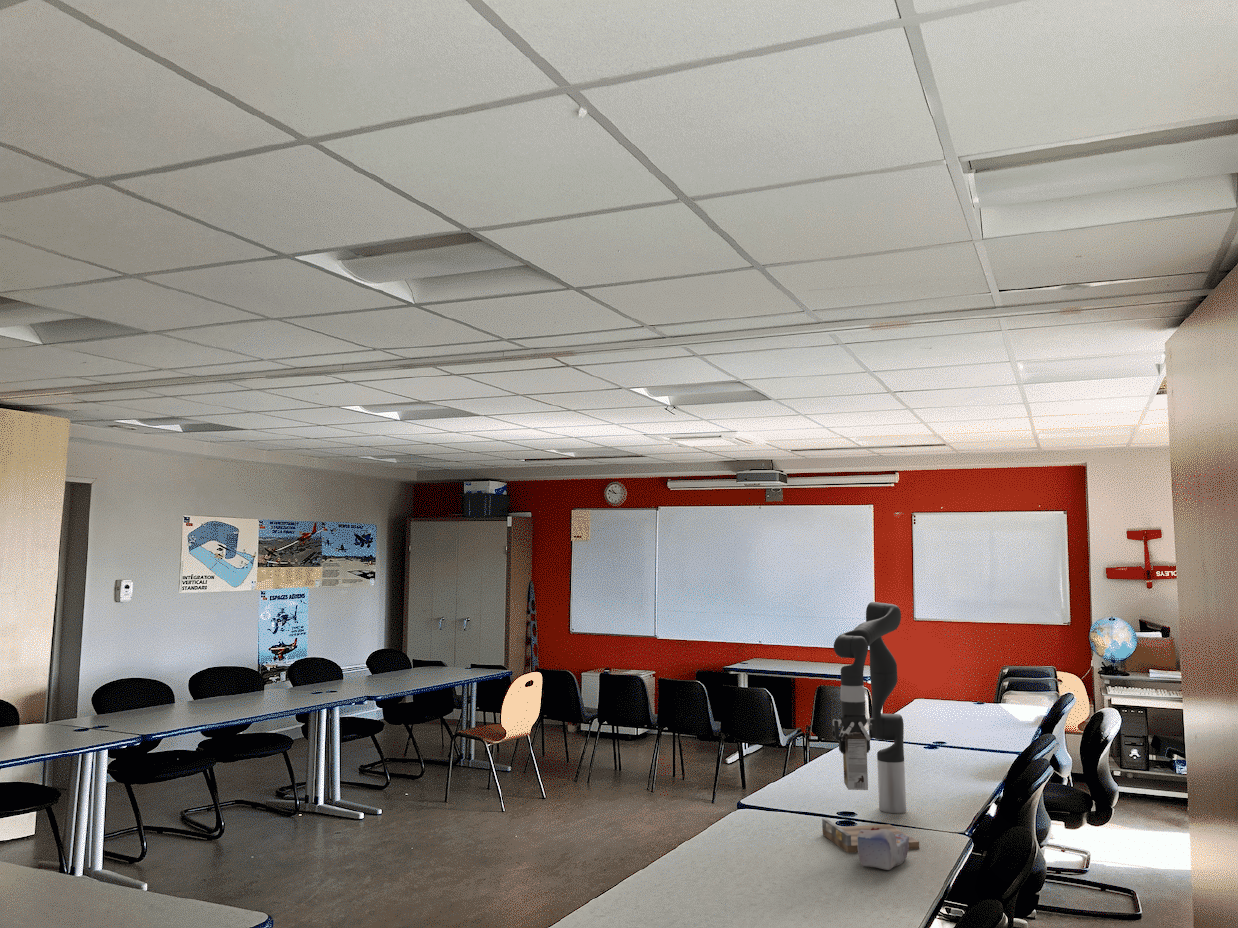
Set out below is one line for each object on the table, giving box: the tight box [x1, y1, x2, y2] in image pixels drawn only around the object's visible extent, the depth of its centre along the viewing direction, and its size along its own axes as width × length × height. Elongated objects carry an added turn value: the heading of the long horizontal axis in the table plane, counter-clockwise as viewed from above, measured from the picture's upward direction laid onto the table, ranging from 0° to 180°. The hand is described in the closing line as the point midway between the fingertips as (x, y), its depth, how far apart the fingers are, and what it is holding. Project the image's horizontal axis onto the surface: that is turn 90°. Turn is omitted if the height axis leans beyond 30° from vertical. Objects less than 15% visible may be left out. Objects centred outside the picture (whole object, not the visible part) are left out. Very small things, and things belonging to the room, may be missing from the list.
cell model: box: [857, 828, 910, 871], centre depth 270 cm, size 13×11×20 cm
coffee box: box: [842, 732, 869, 791], centre depth 293 cm, size 9×6×16 cm
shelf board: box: [821, 817, 920, 854], centre depth 291 cm, size 20×23×5 cm
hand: (854, 752), depth 293 cm, fingers closed on coffee box, 7 cm apart
